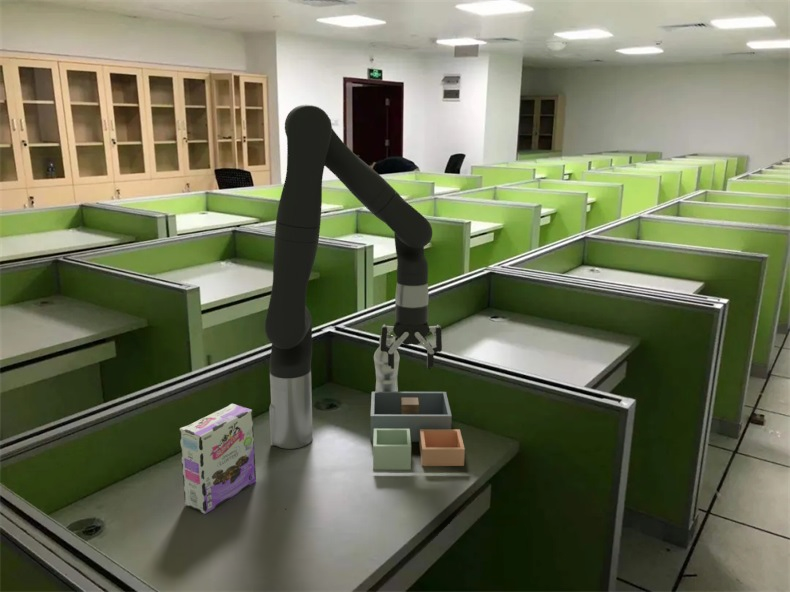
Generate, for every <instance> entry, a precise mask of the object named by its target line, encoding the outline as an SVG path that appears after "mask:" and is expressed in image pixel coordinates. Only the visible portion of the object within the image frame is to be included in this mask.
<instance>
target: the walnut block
mask: <svg viewBox="0 0 790 592" xmlns="http://www.w3.org/2000/svg"><path fill="white" fill-rule="evenodd" d="M401 414H408V415H419V402H418V398H401Z"/></svg>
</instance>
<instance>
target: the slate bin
mask: <svg viewBox="0 0 790 592" xmlns="http://www.w3.org/2000/svg"><path fill="white" fill-rule="evenodd" d="M401 398H418V402H419V415H408V414H401ZM370 400H371V401H370V442H373V436H374V429H410V438H411V443H412V442H417V443H418V442H419V443H420V429H452V420H453V419H452V418H453V417H452V411H451V407H450V403H449V399H448V396H447V391H398V392H375V391H371V398H370Z"/></svg>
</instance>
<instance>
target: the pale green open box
mask: <svg viewBox="0 0 790 592" xmlns="http://www.w3.org/2000/svg"><path fill="white" fill-rule="evenodd" d="M372 445H373V446H372V470H411V469H412V465H411V464H412V442H411V438H410V429H374V436H373V441H372Z"/></svg>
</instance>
